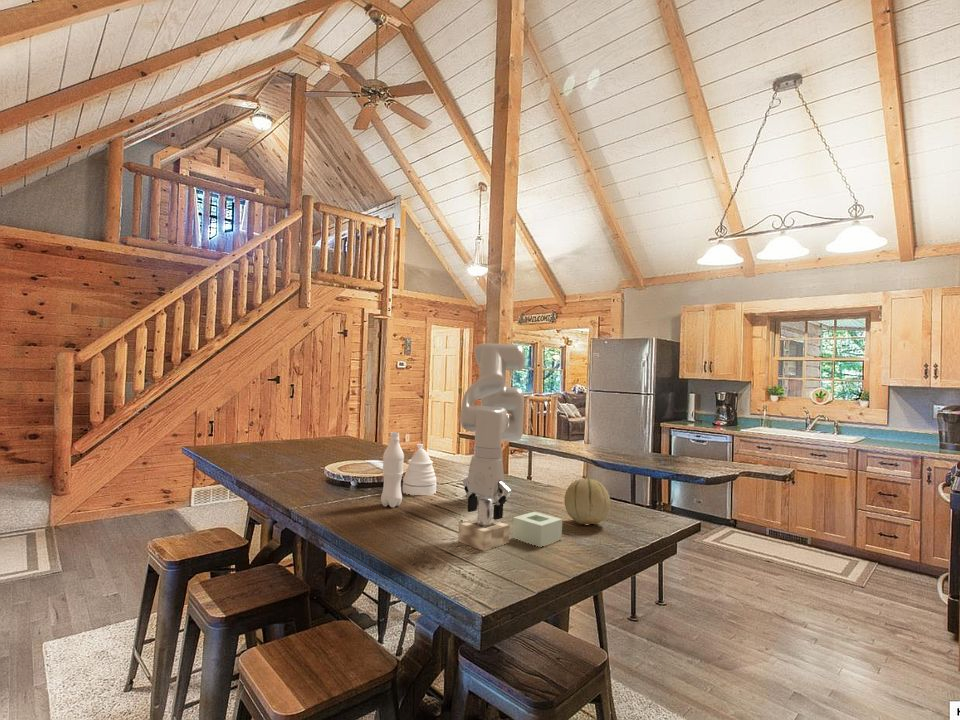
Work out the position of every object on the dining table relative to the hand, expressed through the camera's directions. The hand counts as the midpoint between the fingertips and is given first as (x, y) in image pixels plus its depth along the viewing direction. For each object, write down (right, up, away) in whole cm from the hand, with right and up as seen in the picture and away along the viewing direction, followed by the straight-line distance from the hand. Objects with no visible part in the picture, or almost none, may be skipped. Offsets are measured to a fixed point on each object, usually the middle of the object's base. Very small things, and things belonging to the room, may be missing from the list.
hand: (484, 514), depth 143 cm
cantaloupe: (+33, -10, +22) cm, 41 cm away
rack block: (+15, -8, +5) cm, 18 cm away
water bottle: (-32, -7, +34) cm, 47 cm away
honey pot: (-25, -8, +56) cm, 62 cm away
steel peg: (0, -8, 0) cm, 8 cm away
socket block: (0, -8, 0) cm, 8 cm away
